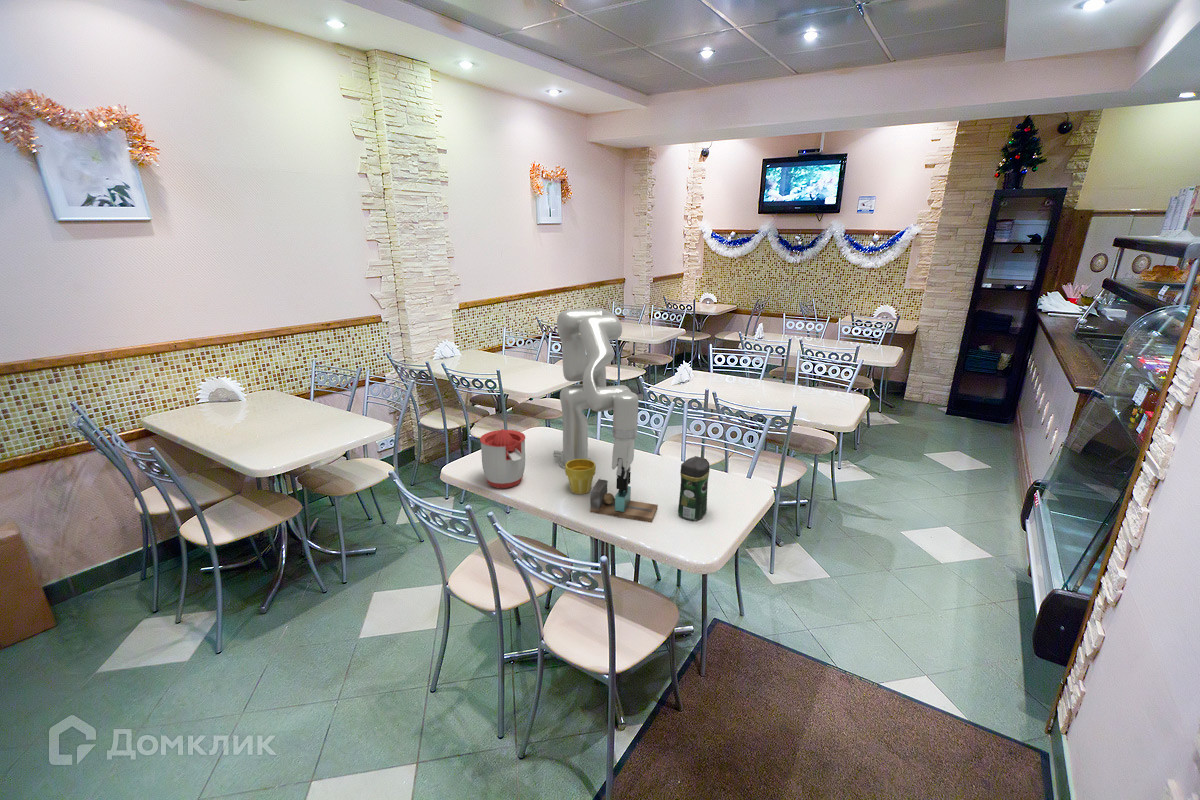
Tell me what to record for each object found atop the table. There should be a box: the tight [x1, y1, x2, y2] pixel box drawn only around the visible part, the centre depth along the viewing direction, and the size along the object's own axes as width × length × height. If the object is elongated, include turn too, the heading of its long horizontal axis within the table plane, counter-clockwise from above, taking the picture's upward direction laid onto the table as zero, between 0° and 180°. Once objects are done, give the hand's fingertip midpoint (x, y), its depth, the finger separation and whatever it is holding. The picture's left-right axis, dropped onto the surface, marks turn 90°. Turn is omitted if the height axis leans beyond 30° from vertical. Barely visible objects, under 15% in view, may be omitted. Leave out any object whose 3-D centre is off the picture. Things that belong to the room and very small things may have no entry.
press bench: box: [589, 478, 659, 523], centre depth 164 cm, size 20×9×8 cm, turn 73°
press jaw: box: [614, 467, 632, 512], centre depth 162 cm, size 4×8×16 cm, turn 163°
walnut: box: [603, 492, 615, 504], centre depth 166 cm, size 4×4×4 cm
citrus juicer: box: [479, 428, 526, 490], centre depth 180 cm, size 16×17×20 cm
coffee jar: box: [677, 455, 710, 521], centre depth 161 cm, size 10×8×19 cm
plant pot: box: [564, 459, 596, 495], centre depth 177 cm, size 10×10×10 cm
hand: (623, 485), depth 163 cm, fingers open, 3 cm apart
